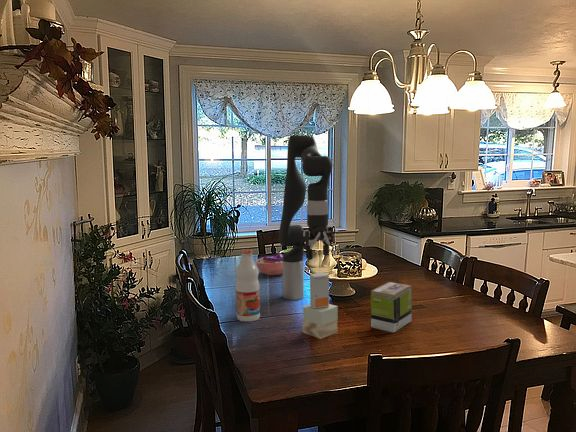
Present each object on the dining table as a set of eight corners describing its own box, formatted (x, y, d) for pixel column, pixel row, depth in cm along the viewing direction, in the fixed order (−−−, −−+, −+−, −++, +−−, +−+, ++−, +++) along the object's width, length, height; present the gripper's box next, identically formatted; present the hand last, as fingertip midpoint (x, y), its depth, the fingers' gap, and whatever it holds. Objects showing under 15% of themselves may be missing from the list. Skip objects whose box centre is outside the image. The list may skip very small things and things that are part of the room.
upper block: (303, 319, 178) (303, 306, 178) (319, 313, 185) (319, 301, 184) (321, 325, 172) (321, 312, 171) (337, 319, 178) (337, 306, 178)
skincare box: (314, 309, 175) (313, 276, 173) (310, 305, 179) (309, 274, 177) (329, 307, 176) (329, 275, 175) (325, 303, 180) (324, 272, 179)
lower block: (302, 332, 179) (302, 319, 178) (319, 326, 185) (319, 313, 184) (320, 339, 172) (320, 326, 172) (337, 332, 178) (337, 319, 178)
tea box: (388, 316, 194) (389, 280, 192) (412, 321, 188) (412, 285, 186) (369, 327, 183) (370, 289, 181) (394, 333, 177) (394, 294, 175)
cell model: (251, 273, 266) (250, 253, 265) (284, 268, 274) (283, 249, 273) (262, 280, 251) (262, 259, 249) (297, 275, 259) (297, 255, 258)
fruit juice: (245, 312, 201) (243, 246, 197) (264, 316, 197) (263, 248, 193) (232, 319, 193) (229, 251, 189) (251, 323, 189) (249, 253, 185)
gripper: (323, 209, 179) (323, 252, 182) (295, 213, 170) (296, 258, 172) (338, 211, 174) (338, 255, 176) (311, 215, 164) (311, 262, 166)
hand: (317, 257), depth 174 cm, fingers open, 8 cm apart
